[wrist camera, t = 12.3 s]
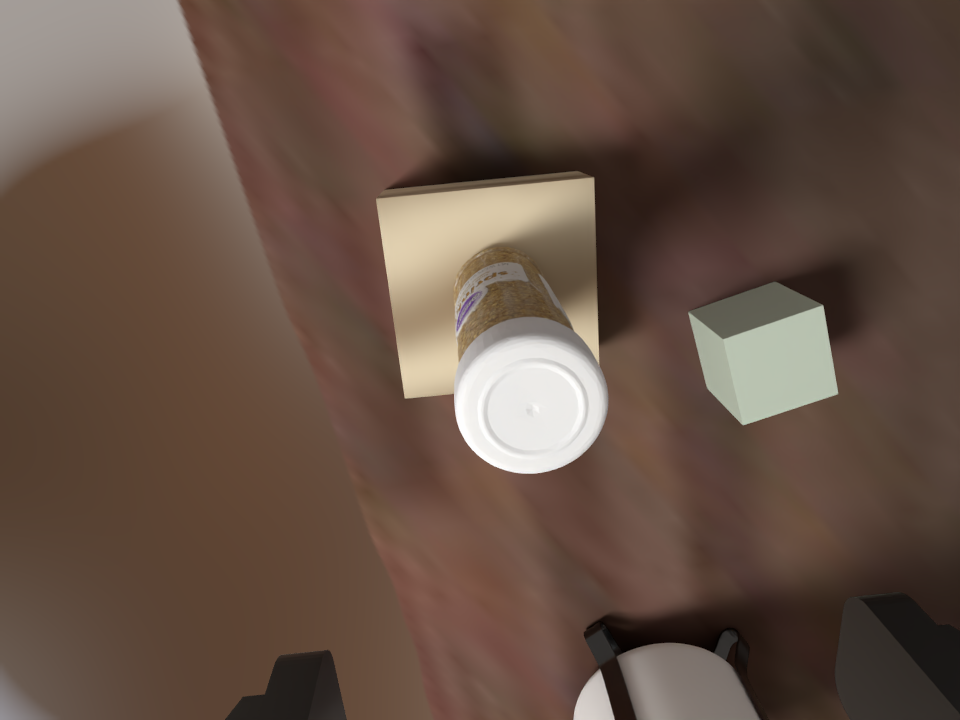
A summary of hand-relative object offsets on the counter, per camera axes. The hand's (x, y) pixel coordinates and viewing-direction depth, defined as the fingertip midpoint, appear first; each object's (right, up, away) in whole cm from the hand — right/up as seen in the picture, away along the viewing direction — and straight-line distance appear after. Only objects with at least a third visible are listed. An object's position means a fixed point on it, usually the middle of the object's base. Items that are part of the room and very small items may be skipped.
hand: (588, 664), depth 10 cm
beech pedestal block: (-1, +9, +25) cm, 26 cm away
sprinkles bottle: (-1, +8, +21) cm, 23 cm away
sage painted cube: (+13, +6, +27) cm, 31 cm away
